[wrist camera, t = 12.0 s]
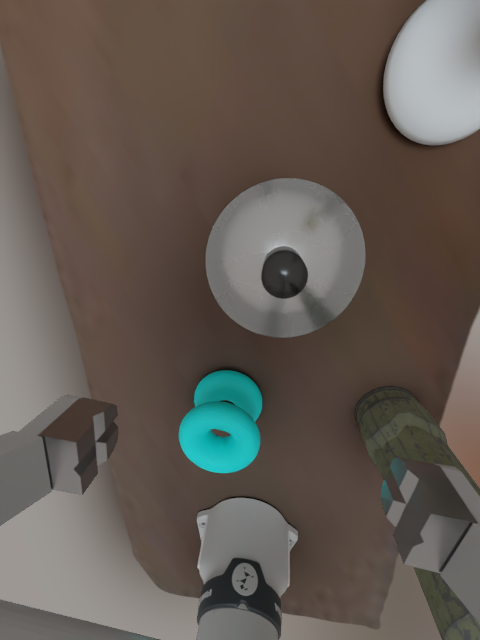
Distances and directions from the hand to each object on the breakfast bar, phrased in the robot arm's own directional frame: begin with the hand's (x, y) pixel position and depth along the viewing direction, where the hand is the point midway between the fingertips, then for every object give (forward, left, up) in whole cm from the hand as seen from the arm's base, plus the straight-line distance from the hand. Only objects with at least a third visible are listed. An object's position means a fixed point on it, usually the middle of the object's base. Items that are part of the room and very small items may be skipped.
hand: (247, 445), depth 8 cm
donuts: (-20, +3, -28) cm, 34 cm away
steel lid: (+2, -1, -18) cm, 18 cm away
